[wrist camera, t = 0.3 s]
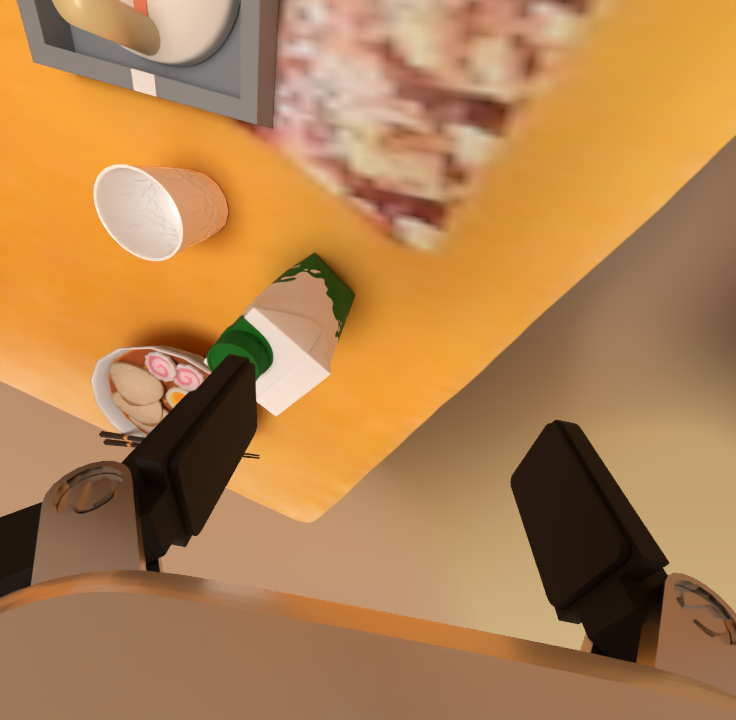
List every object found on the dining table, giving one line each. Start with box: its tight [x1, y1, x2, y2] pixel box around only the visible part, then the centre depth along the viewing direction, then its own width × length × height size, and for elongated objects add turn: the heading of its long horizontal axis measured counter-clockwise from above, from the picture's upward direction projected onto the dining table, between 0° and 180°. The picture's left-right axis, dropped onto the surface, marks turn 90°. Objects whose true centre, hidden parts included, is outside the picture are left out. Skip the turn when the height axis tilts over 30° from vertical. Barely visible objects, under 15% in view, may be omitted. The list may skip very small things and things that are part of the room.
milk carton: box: [204, 253, 355, 416], centre depth 32 cm, size 9×9×20 cm
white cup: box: [94, 164, 228, 261], centre depth 32 cm, size 8×8×10 cm
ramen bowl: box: [91, 346, 260, 459], centre depth 48 cm, size 25×23×8 cm
